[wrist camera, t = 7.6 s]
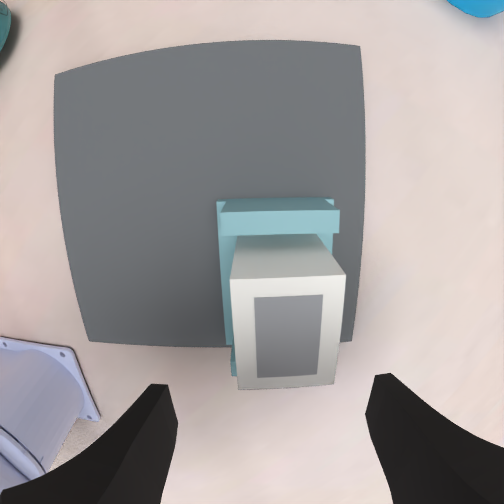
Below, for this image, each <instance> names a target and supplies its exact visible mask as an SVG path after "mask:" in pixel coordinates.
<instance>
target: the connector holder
mask: <svg viewBox="0 0 504 504" xmlns="http://www.w3.org/2000/svg"><path fill="white" fill-rule="evenodd" d="M216 204H217V223H218V239H219V255H220V270H221V284H222V298H223V311H224V324H225V336H226V345H232V352H231V373H232V376H237V369H236V357H235V345H234V332H233V319H232V306H231V292H230V274H231V269H232V263H233V258H234V252H235V246H236V241H237V236H238V235H274V234H317V235H318V237H319V238H320V239H321V241H322V242H323V243H324V245H325V246H326V248H327V249H328V250H329V252H330V253H331V254H332V244H333V233H339V219H340V210H339V209H337V208H336V207H335V206H334V199H332V198H331V197H288V198H245V199H218V200H217V202H216Z"/></svg>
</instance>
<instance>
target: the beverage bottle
mask: <svg viewBox="0 0 504 504" xmlns="http://www.w3.org/2000/svg"><path fill="white" fill-rule="evenodd" d="M2 1H3V0H2ZM10 26H11V12H10V10H9V8H8V7H7V5H5V4H4V3H3V2H1V1H0V51H1V50H2V48H3V46H4V44H5V41H6V39H7V36H8V33H9V30H10Z"/></svg>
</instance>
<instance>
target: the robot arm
mask: <svg viewBox="0 0 504 504" xmlns="http://www.w3.org/2000/svg"><path fill="white" fill-rule="evenodd" d="M63 353H64V354H63ZM365 415H366V420H367V424H368V429H369V433H370V437H371V440H372V442H373V445H374V447H375V450H376V453H377V455H378V458H379V461H380V463H381V466H382V468H383V471H384V474H385V476H386V479H387V482H388V485H389V488H390V491H391V495H392V500H393V504H504V448H503V447H500V446H497V445H495V444H493V443H490V442H488V441H486V440H483V439H481V438H479V437H477V436H475V435H473V434H471V433H470V432H468V431H466V430H464V429H463V428H461V427H459V426H458V425H456V424H454V423H453V422H451V421H450V420H448V419H447V418H446V417H444V416H443V415H441V414H440V413H439V412H437V411H436V410H435V409H433V408H432V407H431V406H429V405H428V404H427V403H426V402H424V401H423V400H422V399H421V398H420V397H418V396H417V395H416V394H415V393H414V392H412V391H411V390H410V389H409V388H408V387H407V386H405V385H404V384H403V383H402V382H401V381H400V380H399V379H397V378H396V377H395V376H394V375H393V374H391V373H387V374H380V375H375V378H374V382H373V386H372V390H371V394H370V398H369V402H368V406H367V409H366V413H365ZM77 418H81V419H85V420H90V421H95V422H98V421H99V420H100V415H99V413H98V411H97V409H96V406H95V404H94V402H93V400H92V397H91V395H90V393H89V390H88V388H87V385H86V383H85V380H84V378H83V375H82V373H81V370H80V368H79V365H78V362H77V360H76V357H75V354H74V352H73V351H72V350H71V349H70V348H66V347H59V346H52V345H45V344H38V343H32V342H26V341H20V340H15V339H9V338H4V337H0V504H160V502H161V498H162V493H163V489H164V486H165V482H166V478H167V475H168V471H169V467H170V464H171V460H172V456H173V452H174V448H175V443H176V436H177V427H178V421H177V417H176V414H175V410H174V407H173V403H172V399H171V395H170V392H169V388H168V385H164V384H150V385H149V386H148V388H147V389H146V390H145V391H144V392H143V393H142V394H141V395H140V397H139V398H138V399H137V400H136V401H135V402H134V403H133V404H132V406H131V407H130V408H129V409H128V410H127V411H126V412H125V413H124V414H123V415H122V416H121V417H120V418H119V419H118V420H117V421H116V422H115V423H114V424H113V425H112V426H111V427H110V428H109V429H108V430H107V431H106V432H105V433H104V434H103V435H102V436H101V437H100V438H98V439H97V440H96V441H95V442H94V443H93V444H91V445H90V446H89V447H88V448H86V449H85V450H84V451H82V452H81V453H80V454H78V455H77V456H75V457H74V458H72V459H71V460H69V461H67V462H66V463H64V464H62V465H61V466H59V467H58V468H56V469H54V470H52V471H50V472H48V471H49V469H50V467H51V466H52V464H53V462H54V460H55V458H56V456H57V454H58V452H59V450H60V448H61V446H62V444H63V442H64V441H65V439H66V437H67V435H68V433H69V431H70V430H71V428H72V426H73V424H74V422H75V420H76V419H77Z"/></svg>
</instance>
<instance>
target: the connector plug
mask: <svg viewBox="0 0 504 504" xmlns="http://www.w3.org/2000/svg"><path fill="white" fill-rule="evenodd" d="M345 282H346V274H345V273H344V271H343V270H342V268H341V267H340V266H339V264H338V263H337V261H336V260H335V259H334V257H333V256H332V254H331V253H330V252H329V250H328V249H327V248H326V246H325V245H324V243H323V242H322V241H321V239H320V238H319V237H318V235H317V234H274V235H238V236H237V241H236V246H235V252H234V258H233V263H232V269H231V274H230V292H231V306H232V319H233V332H234V345H235V357H236V369H237V380H238V390H253V389H279V388H296V387H309V386H321V385H331V384H334V380H335V373H336V366H337V359H338V351H339V343H340V335H341V326H342V316H343V306H344V294H345Z"/></svg>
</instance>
